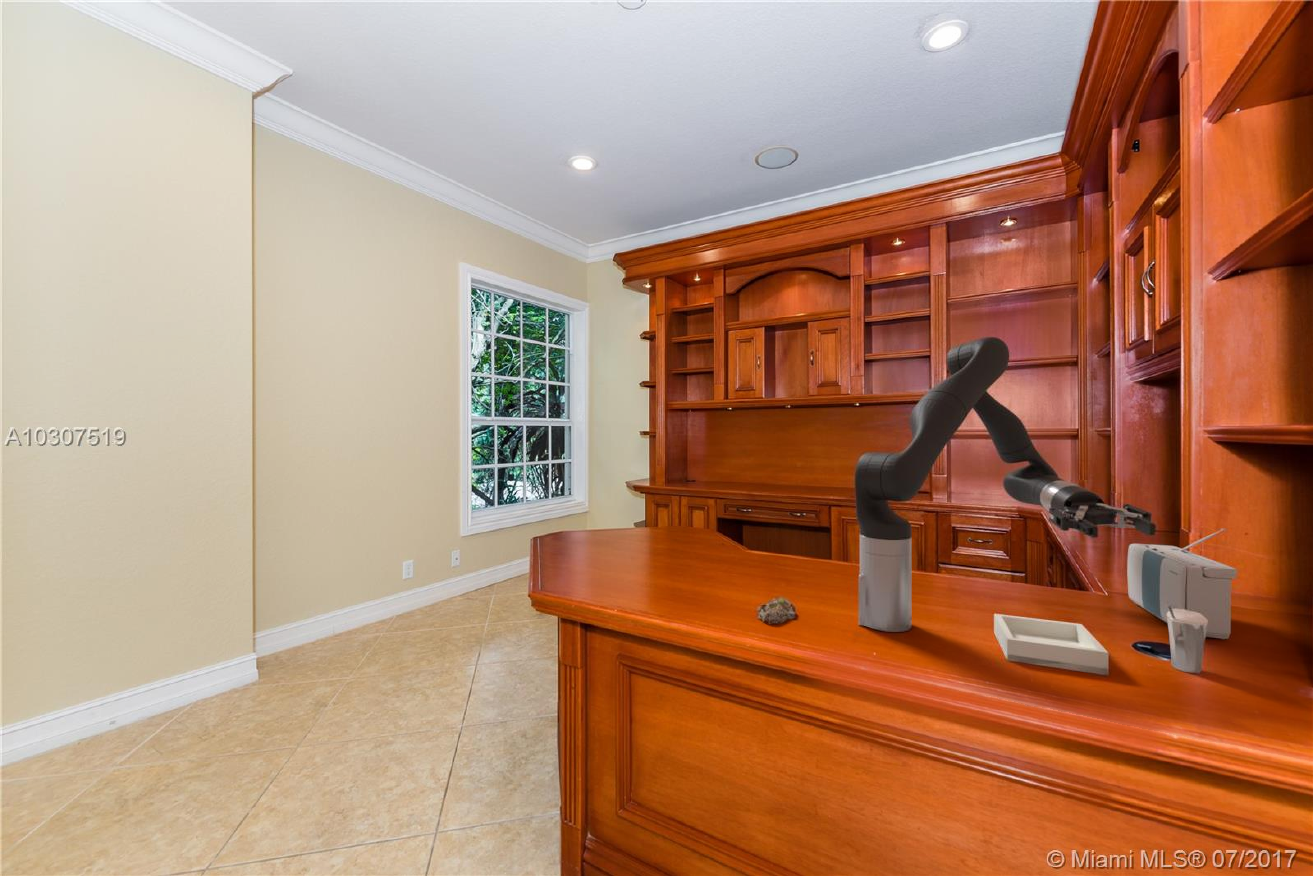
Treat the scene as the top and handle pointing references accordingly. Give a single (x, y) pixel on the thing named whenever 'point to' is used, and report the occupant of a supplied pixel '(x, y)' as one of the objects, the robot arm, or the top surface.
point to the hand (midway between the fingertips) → (1123, 531)
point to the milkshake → (1186, 639)
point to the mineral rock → (776, 611)
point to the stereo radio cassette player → (1181, 584)
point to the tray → (1050, 644)
